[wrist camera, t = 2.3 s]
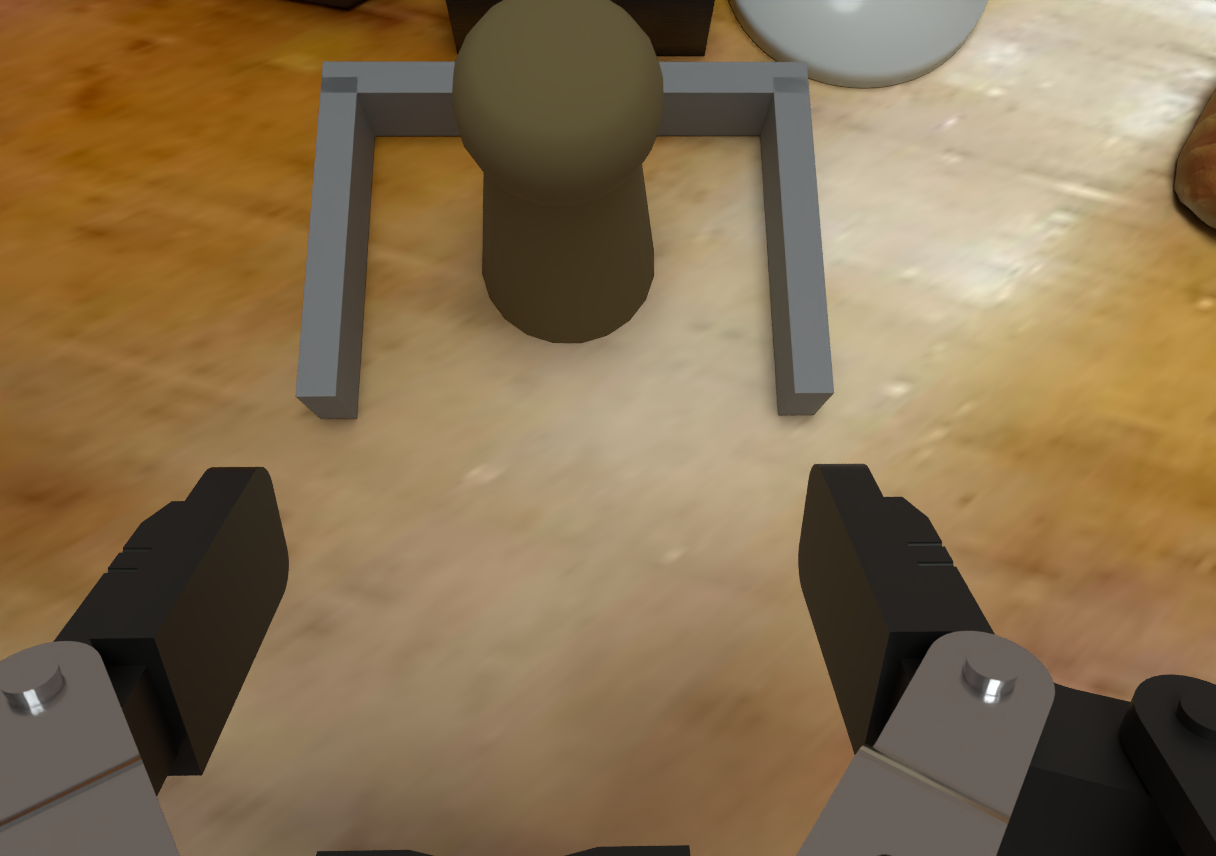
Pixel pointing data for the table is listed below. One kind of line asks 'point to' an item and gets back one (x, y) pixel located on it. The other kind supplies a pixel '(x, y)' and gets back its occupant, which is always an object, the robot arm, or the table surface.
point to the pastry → (1200, 167)
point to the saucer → (860, 36)
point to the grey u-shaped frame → (693, 106)
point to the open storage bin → (659, 3)
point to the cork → (561, 161)
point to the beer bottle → (337, 2)
